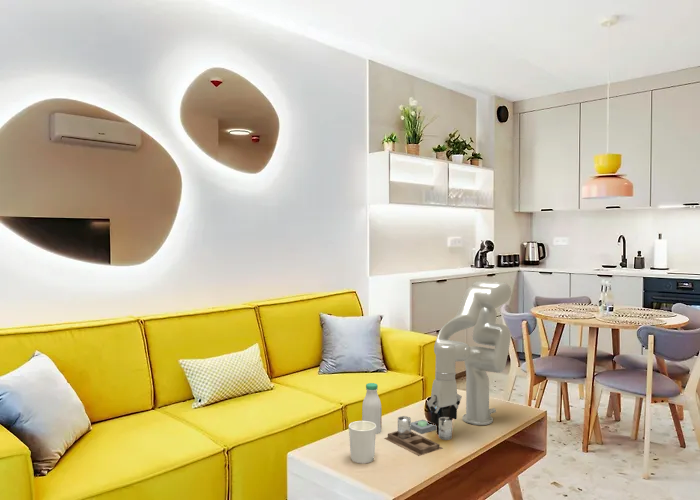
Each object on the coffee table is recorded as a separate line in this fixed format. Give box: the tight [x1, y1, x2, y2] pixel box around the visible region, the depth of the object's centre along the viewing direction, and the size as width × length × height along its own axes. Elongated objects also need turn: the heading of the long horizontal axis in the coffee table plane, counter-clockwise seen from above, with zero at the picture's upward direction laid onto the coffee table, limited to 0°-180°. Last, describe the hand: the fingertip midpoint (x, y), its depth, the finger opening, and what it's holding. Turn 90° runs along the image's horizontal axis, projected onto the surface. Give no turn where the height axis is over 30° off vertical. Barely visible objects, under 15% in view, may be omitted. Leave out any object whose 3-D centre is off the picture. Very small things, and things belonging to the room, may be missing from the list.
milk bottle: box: [361, 382, 383, 435], centre depth 216 cm, size 8×8×20 cm
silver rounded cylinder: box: [438, 416, 453, 441], centre depth 209 cm, size 5×5×9 cm
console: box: [411, 419, 438, 435], centre depth 219 cm, size 8×8×3 cm
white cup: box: [348, 420, 377, 464], centre depth 193 cm, size 10×10×12 cm
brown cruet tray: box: [383, 430, 444, 457], centre depth 204 cm, size 12×20×3 cm, turn 35°
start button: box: [417, 420, 427, 427], centre depth 219 cm, size 4×4×4 cm
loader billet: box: [397, 415, 412, 440], centre depth 208 cm, size 5×5×9 cm
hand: (444, 420), depth 209 cm, fingers open, 9 cm apart
